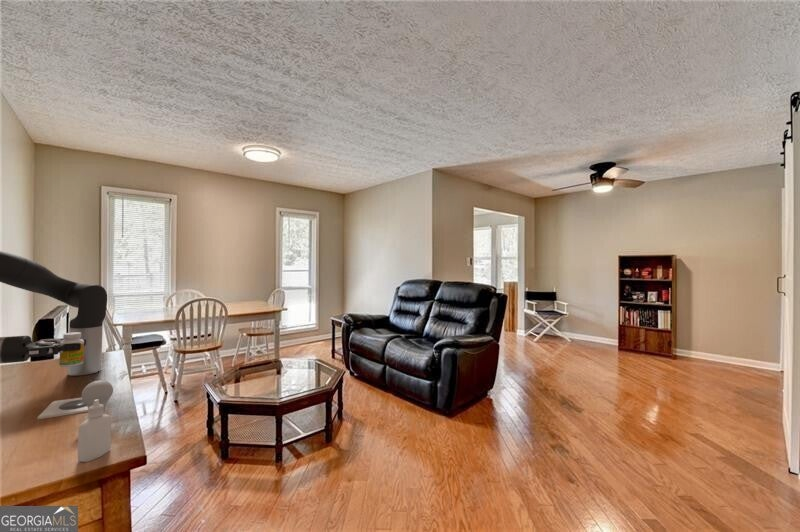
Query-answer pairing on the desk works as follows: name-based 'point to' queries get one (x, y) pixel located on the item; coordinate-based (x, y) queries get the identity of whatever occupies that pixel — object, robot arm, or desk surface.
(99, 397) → the lightbulb
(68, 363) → the supplement bottle
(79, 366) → the robot arm
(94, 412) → the eye dropper bottle
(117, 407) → the desk surface
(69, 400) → the plate
